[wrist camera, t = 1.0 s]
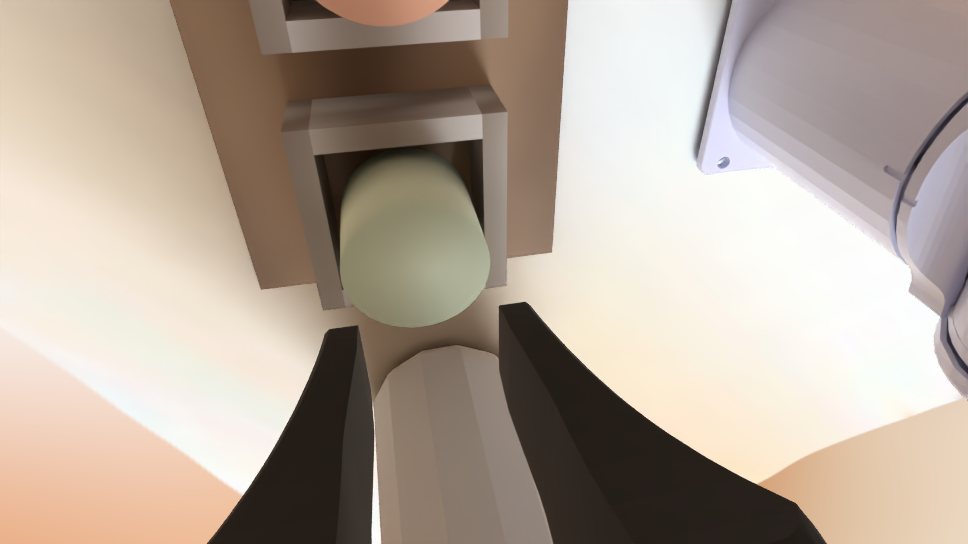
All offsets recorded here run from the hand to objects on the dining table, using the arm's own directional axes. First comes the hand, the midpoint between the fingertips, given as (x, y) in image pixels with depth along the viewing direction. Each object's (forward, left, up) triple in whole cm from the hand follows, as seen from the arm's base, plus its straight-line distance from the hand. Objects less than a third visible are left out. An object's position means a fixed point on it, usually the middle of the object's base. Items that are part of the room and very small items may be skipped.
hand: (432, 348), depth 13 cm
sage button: (0, +1, -8) cm, 8 cm away
